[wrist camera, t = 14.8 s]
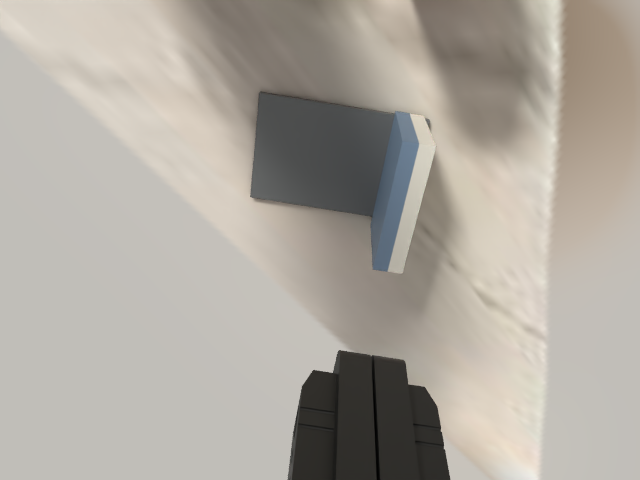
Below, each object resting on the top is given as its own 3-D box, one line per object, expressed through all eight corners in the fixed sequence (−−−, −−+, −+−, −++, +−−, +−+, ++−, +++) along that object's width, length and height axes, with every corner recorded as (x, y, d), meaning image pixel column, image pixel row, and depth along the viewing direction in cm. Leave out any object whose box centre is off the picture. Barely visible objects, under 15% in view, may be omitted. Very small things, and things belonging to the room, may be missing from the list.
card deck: (370, 224, 40) (395, 111, 36) (395, 228, 41) (423, 115, 36) (372, 269, 35) (402, 141, 30) (402, 273, 35) (436, 146, 30)
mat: (260, 91, 36) (259, 93, 36) (429, 119, 37) (429, 120, 36) (251, 194, 40) (250, 197, 40) (403, 219, 41) (404, 221, 40)
